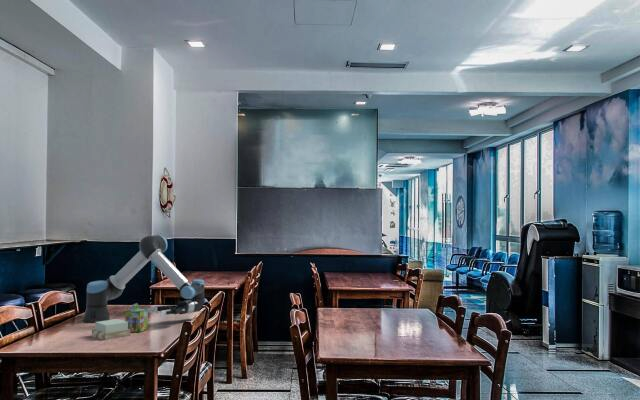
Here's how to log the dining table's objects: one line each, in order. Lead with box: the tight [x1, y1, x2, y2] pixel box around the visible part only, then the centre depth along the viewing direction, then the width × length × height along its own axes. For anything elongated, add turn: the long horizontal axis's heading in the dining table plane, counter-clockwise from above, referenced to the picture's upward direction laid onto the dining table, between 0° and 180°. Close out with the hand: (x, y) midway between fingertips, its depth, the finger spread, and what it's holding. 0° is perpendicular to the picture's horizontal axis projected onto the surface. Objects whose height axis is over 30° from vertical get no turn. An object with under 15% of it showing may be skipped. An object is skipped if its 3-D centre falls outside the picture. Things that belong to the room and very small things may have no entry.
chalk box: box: [124, 302, 149, 333], centre depth 294 cm, size 9×9×15 cm
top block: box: [94, 318, 128, 333], centre depth 280 cm, size 12×12×4 cm
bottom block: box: [91, 328, 131, 341], centre depth 280 cm, size 14×14×4 cm
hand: (153, 312), depth 302 cm, fingers open, 13 cm apart
